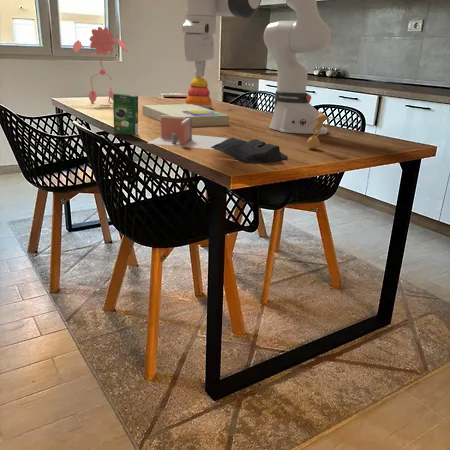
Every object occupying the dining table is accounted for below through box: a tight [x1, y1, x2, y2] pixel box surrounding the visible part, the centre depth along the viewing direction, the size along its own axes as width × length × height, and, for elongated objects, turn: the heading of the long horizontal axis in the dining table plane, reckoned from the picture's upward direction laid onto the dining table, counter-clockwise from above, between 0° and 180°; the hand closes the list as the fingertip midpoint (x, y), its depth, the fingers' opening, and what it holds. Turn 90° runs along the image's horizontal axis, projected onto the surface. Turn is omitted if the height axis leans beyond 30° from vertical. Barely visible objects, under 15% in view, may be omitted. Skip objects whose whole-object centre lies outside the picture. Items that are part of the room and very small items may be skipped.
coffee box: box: [112, 93, 139, 136], centre depth 151 cm, size 8×3×13 cm, turn 75°
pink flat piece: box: [160, 115, 193, 140], centre depth 148 cm, size 10×2×7 cm, turn 77°
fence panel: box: [180, 118, 190, 145], centre depth 142 cm, size 9×1×7 cm, turn 173°
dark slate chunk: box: [211, 137, 289, 165], centre depth 134 cm, size 15×22×5 cm
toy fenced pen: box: [147, 134, 229, 151], centre depth 147 cm, size 21×20×4 cm
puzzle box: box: [142, 103, 230, 128], centre depth 191 cm, size 36×5×24 cm
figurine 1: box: [72, 26, 129, 107], centre depth 220 cm, size 15×26×35 cm, turn 125°
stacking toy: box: [183, 69, 214, 109], centre depth 224 cm, size 14×14×20 cm
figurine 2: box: [306, 111, 330, 150], centre depth 143 cm, size 8×6×12 cm
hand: (200, 76), depth 140 cm, fingers closed
